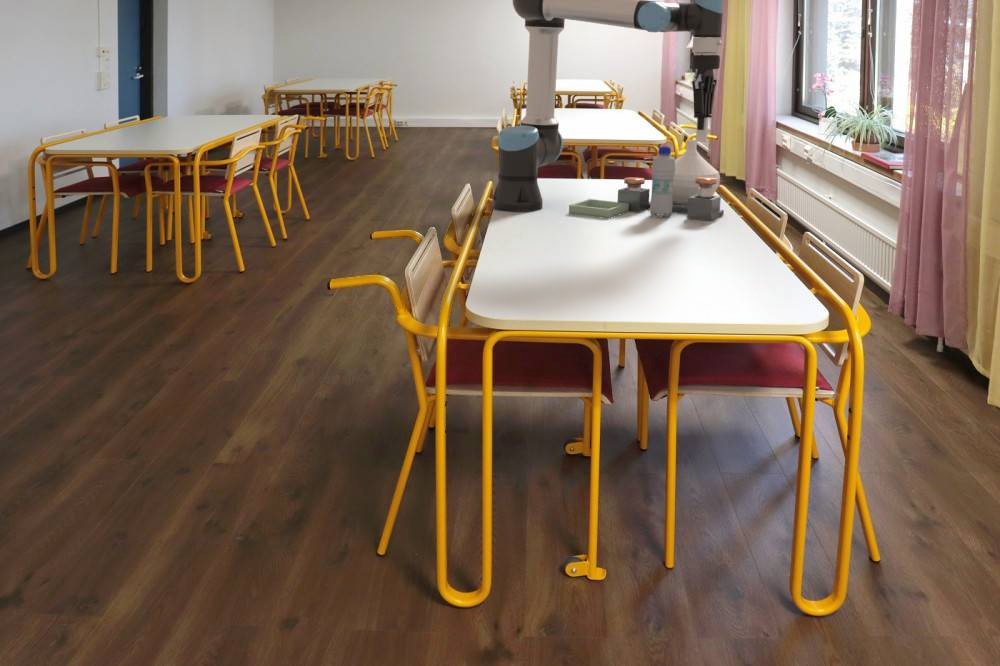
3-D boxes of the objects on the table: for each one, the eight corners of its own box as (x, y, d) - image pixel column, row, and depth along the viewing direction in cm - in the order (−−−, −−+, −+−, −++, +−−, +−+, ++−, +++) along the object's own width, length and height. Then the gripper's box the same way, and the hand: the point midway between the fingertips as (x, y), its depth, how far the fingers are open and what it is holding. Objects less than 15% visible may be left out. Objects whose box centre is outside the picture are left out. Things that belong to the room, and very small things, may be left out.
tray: (568, 213, 282) (569, 205, 281) (589, 207, 293) (589, 198, 292) (609, 218, 276) (609, 209, 275) (628, 211, 286) (629, 203, 285)
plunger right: (690, 207, 277) (692, 179, 274) (697, 204, 282) (699, 176, 279) (710, 210, 274) (712, 181, 271) (717, 206, 279) (720, 178, 276)
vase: (651, 197, 310) (655, 136, 304) (707, 197, 312) (711, 136, 306) (666, 208, 293) (671, 143, 287) (725, 207, 294) (731, 143, 289)
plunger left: (619, 206, 288) (620, 179, 286) (628, 203, 293) (629, 176, 291) (638, 209, 285) (639, 181, 283) (646, 206, 290) (648, 178, 288)
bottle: (671, 219, 276) (676, 147, 270) (648, 217, 278) (652, 147, 272) (672, 214, 283) (677, 145, 277) (649, 213, 284) (653, 144, 278)
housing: (617, 210, 289) (618, 189, 287) (631, 204, 297) (633, 185, 295) (710, 221, 274) (712, 199, 272) (723, 215, 283) (725, 194, 281)
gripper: (710, 54, 259) (705, 144, 266) (727, 53, 270) (722, 140, 277) (684, 54, 263) (680, 143, 270) (701, 53, 273) (697, 138, 280)
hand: (701, 141), depth 273 cm, fingers closed
